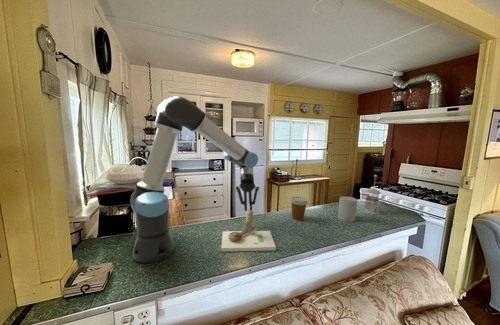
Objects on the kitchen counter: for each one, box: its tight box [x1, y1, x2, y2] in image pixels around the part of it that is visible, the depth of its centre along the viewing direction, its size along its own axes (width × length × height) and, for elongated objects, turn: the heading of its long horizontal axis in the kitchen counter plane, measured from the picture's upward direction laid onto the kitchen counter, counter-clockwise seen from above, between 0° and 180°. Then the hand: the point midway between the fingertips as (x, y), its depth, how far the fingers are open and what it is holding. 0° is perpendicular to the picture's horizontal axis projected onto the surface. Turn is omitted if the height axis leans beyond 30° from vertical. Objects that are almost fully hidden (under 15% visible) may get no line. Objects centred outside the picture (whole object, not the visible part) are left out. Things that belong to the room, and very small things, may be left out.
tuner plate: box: [220, 230, 277, 252], centre depth 91 cm, size 23×14×2 cm, turn 95°
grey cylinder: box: [337, 195, 358, 223], centre depth 120 cm, size 10×10×12 cm
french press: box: [362, 174, 382, 215], centre depth 130 cm, size 10×12×25 cm
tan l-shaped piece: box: [229, 210, 255, 241], centre depth 93 cm, size 15×6×10 cm, turn 135°
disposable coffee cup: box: [290, 196, 308, 222], centre depth 117 cm, size 10×10×12 cm
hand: (248, 217), depth 100 cm, fingers closed
